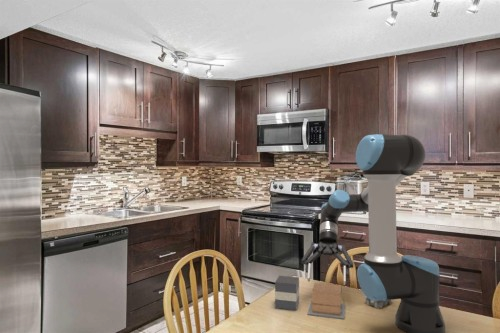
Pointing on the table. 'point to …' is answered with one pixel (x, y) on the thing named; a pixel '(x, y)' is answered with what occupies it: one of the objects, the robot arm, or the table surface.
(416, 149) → the robot arm
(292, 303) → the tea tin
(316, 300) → the wooden block stack
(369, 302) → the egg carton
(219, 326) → the table surface
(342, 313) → the rubber mat
